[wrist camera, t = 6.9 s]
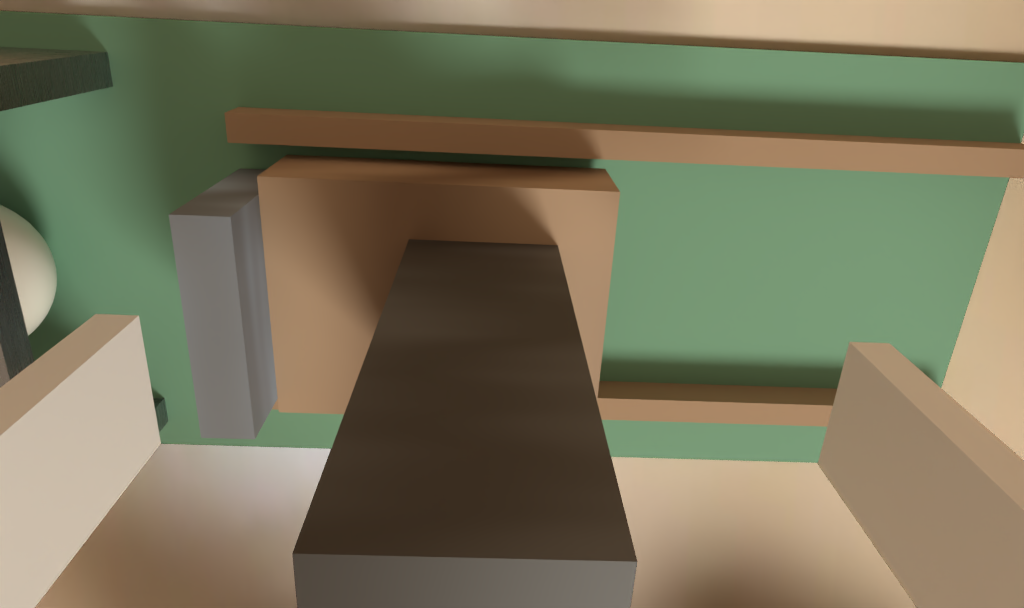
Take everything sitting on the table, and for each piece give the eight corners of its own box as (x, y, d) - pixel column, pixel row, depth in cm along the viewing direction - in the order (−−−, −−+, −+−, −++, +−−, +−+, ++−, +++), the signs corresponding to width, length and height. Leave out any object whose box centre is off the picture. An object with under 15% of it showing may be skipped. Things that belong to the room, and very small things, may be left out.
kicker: (605, 168, 18) (792, 456, 7) (584, 376, 20) (695, 853, 9) (237, 152, 18) (-234, 426, 6) (259, 365, 20) (-54, 846, 9)
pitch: (1040, 63, 18) (1076, 67, 17) (911, 461, 22) (933, 485, 21) (-286, -4, 17) (-343, -5, 16) (-130, 431, 21) (-164, 454, 20)
